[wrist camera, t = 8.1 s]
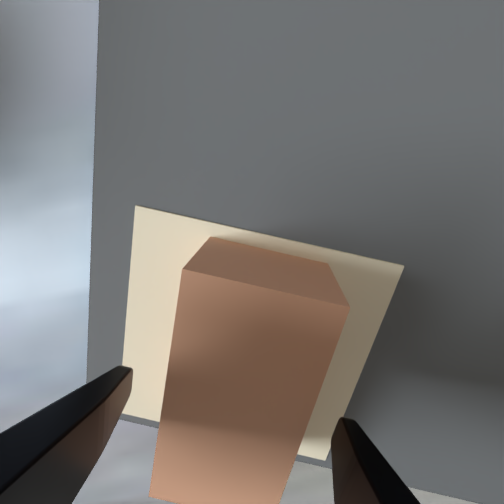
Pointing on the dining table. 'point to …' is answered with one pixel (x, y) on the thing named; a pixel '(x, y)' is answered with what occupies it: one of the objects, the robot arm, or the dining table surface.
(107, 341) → the rubber mat
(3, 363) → the dining table surface
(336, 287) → the flat block
